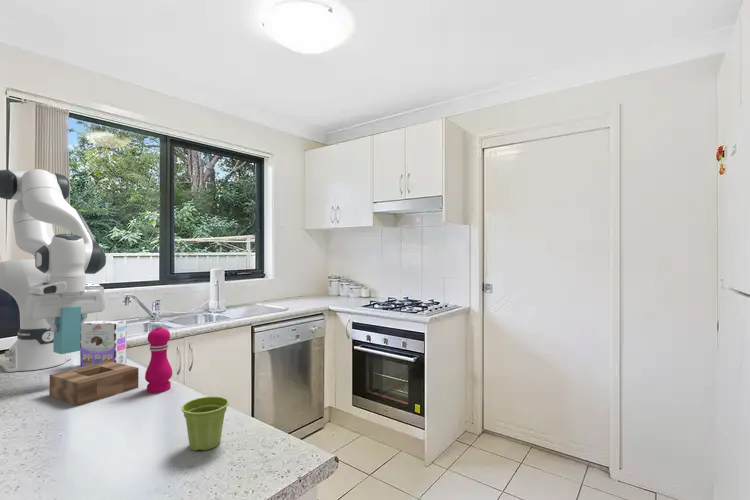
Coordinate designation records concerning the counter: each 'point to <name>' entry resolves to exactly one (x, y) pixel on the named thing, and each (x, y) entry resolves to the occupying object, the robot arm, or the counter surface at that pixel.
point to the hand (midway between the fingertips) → (67, 330)
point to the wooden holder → (93, 382)
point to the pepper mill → (158, 361)
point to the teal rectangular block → (68, 331)
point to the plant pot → (205, 421)
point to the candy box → (102, 342)
